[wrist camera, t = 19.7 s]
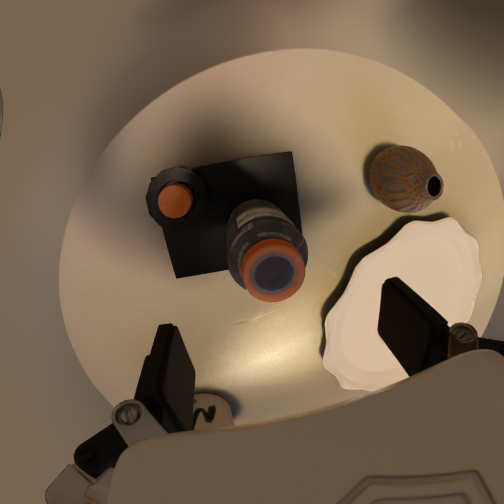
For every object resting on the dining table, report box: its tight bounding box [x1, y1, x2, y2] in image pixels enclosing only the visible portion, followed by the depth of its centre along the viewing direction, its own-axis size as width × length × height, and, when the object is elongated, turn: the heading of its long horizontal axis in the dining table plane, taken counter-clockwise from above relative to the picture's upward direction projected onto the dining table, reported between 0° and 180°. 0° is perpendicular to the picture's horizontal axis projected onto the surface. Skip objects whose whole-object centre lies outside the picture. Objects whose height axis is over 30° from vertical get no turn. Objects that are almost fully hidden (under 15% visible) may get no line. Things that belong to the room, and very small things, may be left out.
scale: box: [146, 152, 302, 278], centre depth 26 cm, size 11×14×2 cm
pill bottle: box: [226, 199, 308, 302], centre depth 22 cm, size 6×6×11 cm
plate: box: [322, 217, 482, 392], centre depth 33 cm, size 29×29×2 cm
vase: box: [369, 146, 443, 213], centre depth 23 cm, size 7×7×9 cm
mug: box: [192, 393, 235, 431], centre depth 34 cm, size 10×15×10 cm
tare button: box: [158, 183, 193, 218], centre depth 24 cm, size 3×3×2 cm
